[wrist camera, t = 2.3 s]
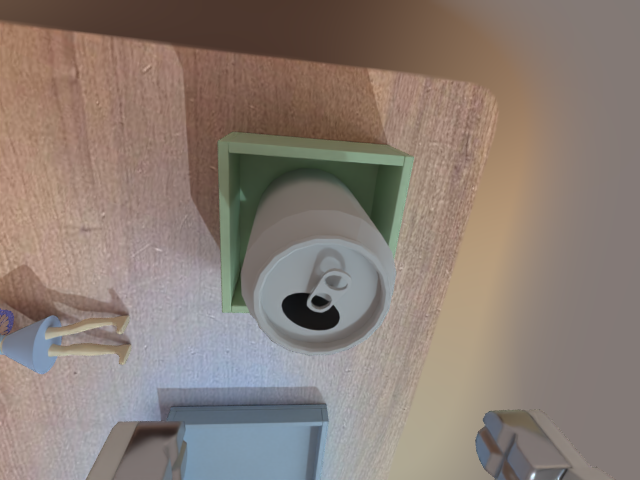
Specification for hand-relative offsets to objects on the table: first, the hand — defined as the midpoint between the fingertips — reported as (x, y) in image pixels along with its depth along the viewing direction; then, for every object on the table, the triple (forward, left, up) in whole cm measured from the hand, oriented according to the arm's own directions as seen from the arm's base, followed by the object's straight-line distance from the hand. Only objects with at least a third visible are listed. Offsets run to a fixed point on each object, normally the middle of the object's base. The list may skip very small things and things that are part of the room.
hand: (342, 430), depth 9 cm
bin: (0, 0, -18) cm, 18 cm away
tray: (+4, +28, -18) cm, 34 cm away
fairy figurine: (+20, +11, -18) cm, 29 cm away
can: (0, 0, -18) cm, 18 cm away
